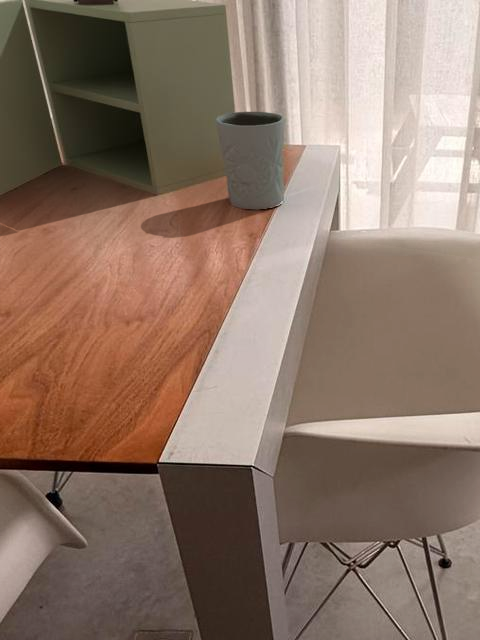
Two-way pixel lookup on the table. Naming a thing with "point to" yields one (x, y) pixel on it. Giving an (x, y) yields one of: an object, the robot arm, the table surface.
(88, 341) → the table surface
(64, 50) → the cupboard
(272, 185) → the grey green cup
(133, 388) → the table surface
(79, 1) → the walnut block
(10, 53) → the cupboard door
